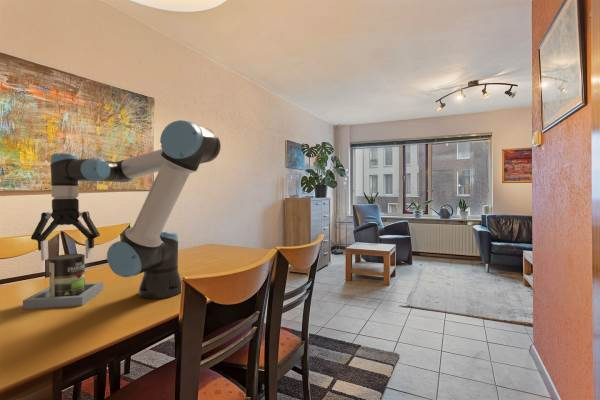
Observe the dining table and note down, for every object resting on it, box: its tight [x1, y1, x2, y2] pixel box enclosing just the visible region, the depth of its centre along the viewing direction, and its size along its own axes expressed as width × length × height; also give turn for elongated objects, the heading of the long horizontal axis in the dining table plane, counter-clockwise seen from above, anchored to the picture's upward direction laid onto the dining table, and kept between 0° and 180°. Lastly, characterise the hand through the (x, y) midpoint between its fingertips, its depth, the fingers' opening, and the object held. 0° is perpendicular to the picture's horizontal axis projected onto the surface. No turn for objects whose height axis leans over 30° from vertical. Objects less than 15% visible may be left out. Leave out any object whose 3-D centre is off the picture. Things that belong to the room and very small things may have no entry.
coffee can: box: [47, 253, 86, 297], centre depth 110 cm, size 10×10×14 cm
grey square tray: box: [22, 281, 104, 310], centre depth 110 cm, size 17×17×3 cm
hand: (67, 258), depth 110 cm, fingers open, 13 cm apart
